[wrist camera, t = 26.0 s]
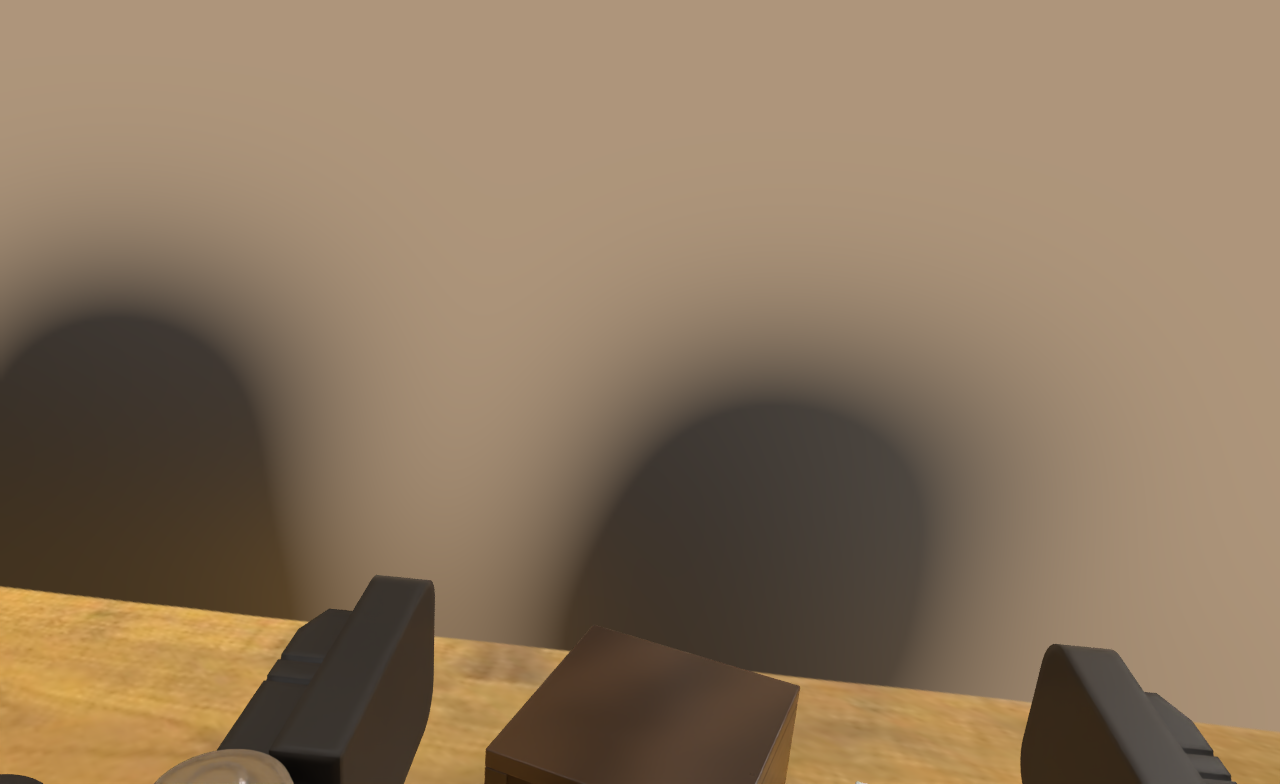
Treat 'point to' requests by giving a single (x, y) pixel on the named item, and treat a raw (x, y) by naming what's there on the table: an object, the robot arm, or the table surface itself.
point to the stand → (646, 720)
